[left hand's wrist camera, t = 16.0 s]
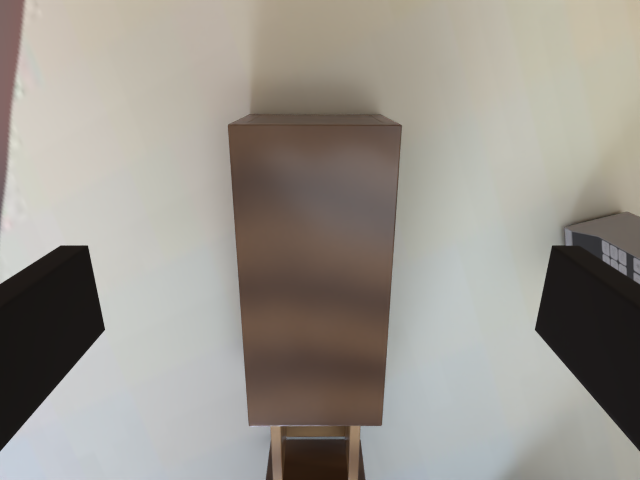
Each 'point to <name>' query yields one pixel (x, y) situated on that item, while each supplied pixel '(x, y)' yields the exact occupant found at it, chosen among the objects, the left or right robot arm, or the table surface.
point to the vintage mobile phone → (610, 241)
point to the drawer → (315, 453)
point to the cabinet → (315, 263)
